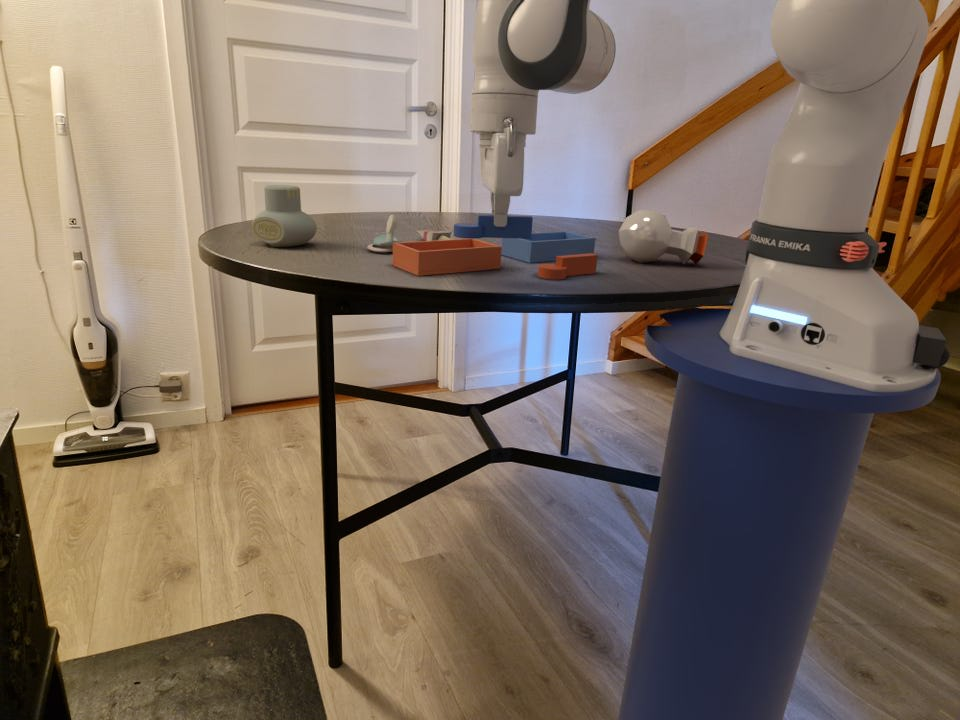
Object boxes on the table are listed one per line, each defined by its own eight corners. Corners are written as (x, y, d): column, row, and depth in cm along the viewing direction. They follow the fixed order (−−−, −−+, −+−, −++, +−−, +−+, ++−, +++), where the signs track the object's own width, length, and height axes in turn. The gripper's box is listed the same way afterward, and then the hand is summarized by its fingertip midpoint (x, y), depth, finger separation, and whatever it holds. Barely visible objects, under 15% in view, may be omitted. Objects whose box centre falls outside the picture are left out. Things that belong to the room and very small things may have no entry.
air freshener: (325, 245, 111) (323, 187, 107) (293, 251, 104) (290, 190, 100) (277, 238, 115) (274, 182, 112) (244, 243, 108) (240, 184, 104)
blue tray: (593, 257, 114) (595, 237, 112) (529, 263, 105) (531, 241, 104) (563, 249, 120) (565, 231, 119) (501, 254, 111) (502, 234, 110)
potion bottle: (609, 265, 114) (689, 280, 114) (621, 241, 105) (708, 258, 104) (615, 221, 117) (694, 236, 116) (628, 194, 107) (714, 210, 107)
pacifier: (372, 255, 105) (406, 254, 107) (371, 218, 102) (406, 217, 105) (363, 248, 111) (395, 246, 113) (361, 212, 109) (395, 211, 111)
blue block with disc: (528, 235, 90) (529, 214, 89) (532, 240, 86) (534, 218, 85) (453, 233, 89) (453, 212, 88) (454, 238, 85) (454, 216, 84)
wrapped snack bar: (431, 222, 123) (476, 244, 107) (430, 236, 124) (475, 259, 108) (413, 222, 122) (456, 244, 105) (413, 236, 123) (455, 260, 106)
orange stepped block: (583, 269, 102) (585, 251, 101) (602, 275, 99) (604, 256, 98) (531, 274, 96) (533, 255, 95) (550, 280, 93) (552, 261, 92)
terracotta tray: (500, 268, 99) (501, 246, 98) (418, 276, 91) (418, 251, 90) (471, 259, 106) (472, 238, 104) (392, 265, 97) (392, 242, 96)
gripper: (539, 117, 73) (531, 235, 77) (517, 123, 92) (512, 217, 97) (486, 115, 72) (481, 234, 77) (475, 121, 92) (472, 216, 96)
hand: (498, 224), depth 87 cm, fingers closed on blue block with disc
